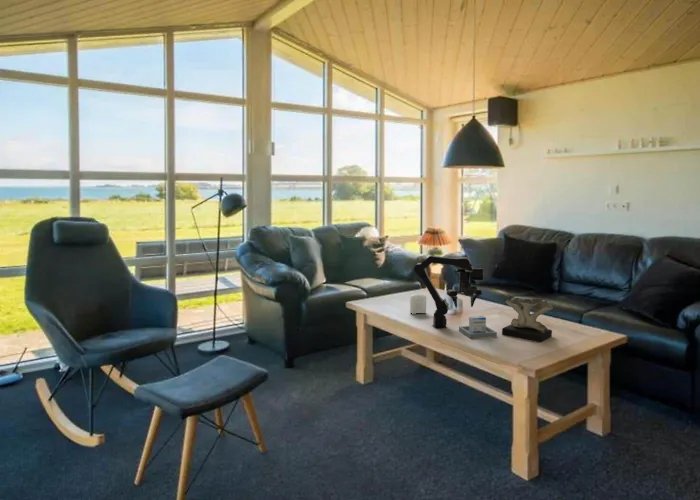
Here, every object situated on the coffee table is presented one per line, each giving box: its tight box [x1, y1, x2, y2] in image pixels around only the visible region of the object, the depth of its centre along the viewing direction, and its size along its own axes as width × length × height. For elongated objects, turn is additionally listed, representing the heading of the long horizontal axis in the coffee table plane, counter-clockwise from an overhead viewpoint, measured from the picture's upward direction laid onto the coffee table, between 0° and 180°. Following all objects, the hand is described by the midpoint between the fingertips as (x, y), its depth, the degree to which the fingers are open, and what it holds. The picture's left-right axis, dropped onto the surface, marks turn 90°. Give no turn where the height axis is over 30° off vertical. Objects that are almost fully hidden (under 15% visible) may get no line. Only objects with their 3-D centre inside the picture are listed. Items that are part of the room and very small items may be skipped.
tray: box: [458, 325, 498, 340], centre depth 278 cm, size 15×15×2 cm
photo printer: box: [409, 293, 427, 315], centre depth 322 cm, size 10×4×12 cm, turn 98°
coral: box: [501, 297, 554, 343], centre depth 268 cm, size 25×20×22 cm
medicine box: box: [468, 315, 487, 333], centre depth 277 cm, size 8×4×9 cm, turn 104°
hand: (464, 307), depth 287 cm, fingers open, 9 cm apart
